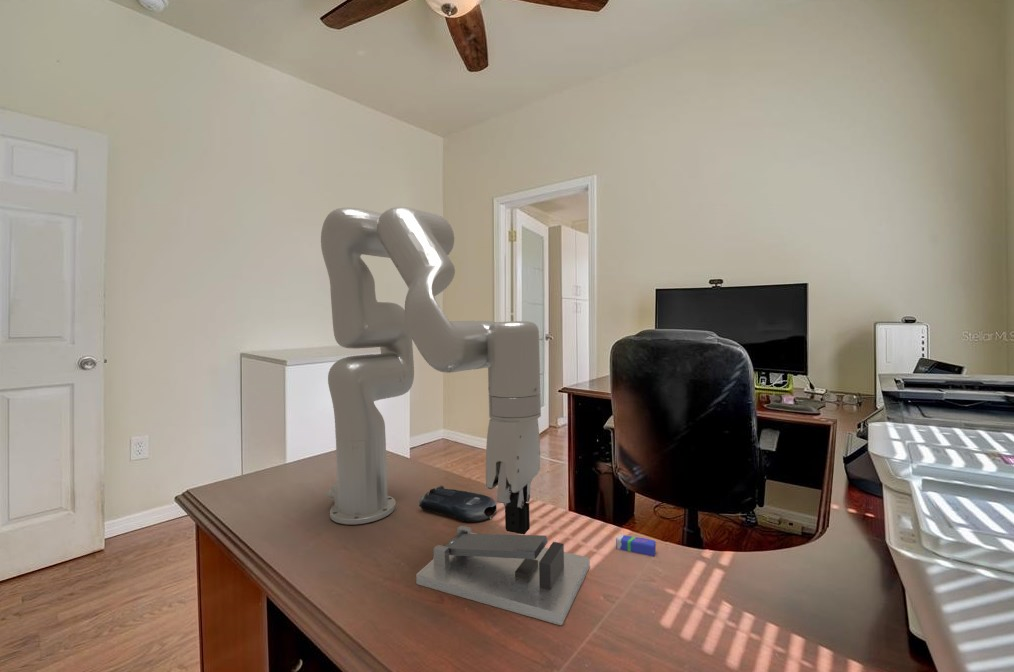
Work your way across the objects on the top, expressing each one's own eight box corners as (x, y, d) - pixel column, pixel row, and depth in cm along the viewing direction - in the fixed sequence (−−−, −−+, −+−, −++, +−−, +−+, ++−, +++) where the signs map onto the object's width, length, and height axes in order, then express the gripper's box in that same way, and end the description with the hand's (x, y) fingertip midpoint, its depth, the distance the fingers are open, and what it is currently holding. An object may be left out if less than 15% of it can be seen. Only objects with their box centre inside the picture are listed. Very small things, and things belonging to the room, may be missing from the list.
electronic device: (417, 522, 87) (482, 525, 80) (415, 493, 88) (479, 494, 81) (444, 510, 95) (505, 512, 89) (442, 483, 96) (502, 484, 89)
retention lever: (441, 556, 67) (440, 546, 67) (458, 540, 71) (457, 532, 71) (535, 560, 60) (533, 550, 60) (547, 543, 65) (546, 534, 65)
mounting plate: (416, 584, 63) (415, 550, 63) (465, 539, 76) (464, 511, 76) (561, 625, 54) (561, 586, 54) (589, 566, 67) (589, 534, 67)
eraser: (618, 544, 74) (618, 533, 74) (655, 552, 71) (655, 540, 71) (616, 550, 72) (615, 538, 72) (654, 558, 69) (653, 545, 69)
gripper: (512, 396, 72) (514, 506, 72) (466, 414, 58) (470, 550, 59) (555, 398, 68) (558, 513, 69) (517, 419, 55) (521, 561, 55)
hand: (517, 530), depth 64 cm, fingers closed
